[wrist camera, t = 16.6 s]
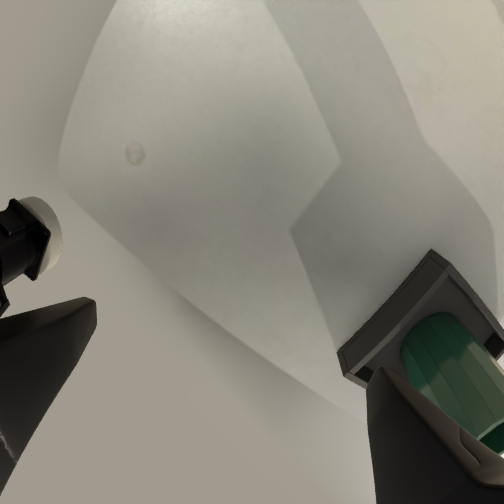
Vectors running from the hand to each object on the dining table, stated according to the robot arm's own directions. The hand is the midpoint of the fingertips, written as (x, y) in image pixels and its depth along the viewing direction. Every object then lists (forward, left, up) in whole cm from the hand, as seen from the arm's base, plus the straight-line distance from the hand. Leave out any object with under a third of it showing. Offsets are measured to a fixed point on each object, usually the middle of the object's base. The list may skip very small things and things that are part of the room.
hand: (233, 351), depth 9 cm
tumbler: (+2, -18, -12) cm, 22 cm away
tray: (+2, -18, -13) cm, 22 cm away
